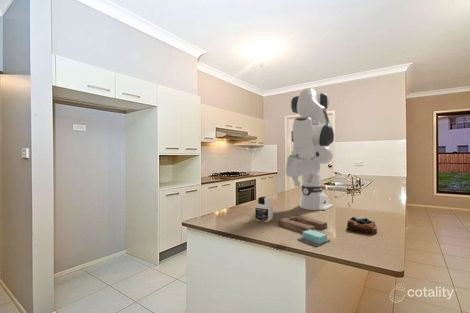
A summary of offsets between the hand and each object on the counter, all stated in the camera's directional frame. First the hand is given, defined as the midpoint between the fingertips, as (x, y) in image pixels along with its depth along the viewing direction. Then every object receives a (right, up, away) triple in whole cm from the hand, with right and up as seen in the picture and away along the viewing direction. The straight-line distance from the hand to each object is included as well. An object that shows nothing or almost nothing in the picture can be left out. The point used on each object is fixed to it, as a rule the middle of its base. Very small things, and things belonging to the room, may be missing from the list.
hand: (303, 184), depth 106 cm
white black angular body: (-15, -21, +22) cm, 34 cm away
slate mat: (+1, -21, -9) cm, 23 cm away
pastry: (+28, -21, +3) cm, 35 cm away
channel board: (+2, -21, +9) cm, 23 cm away
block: (+2, -21, -10) cm, 23 cm away
